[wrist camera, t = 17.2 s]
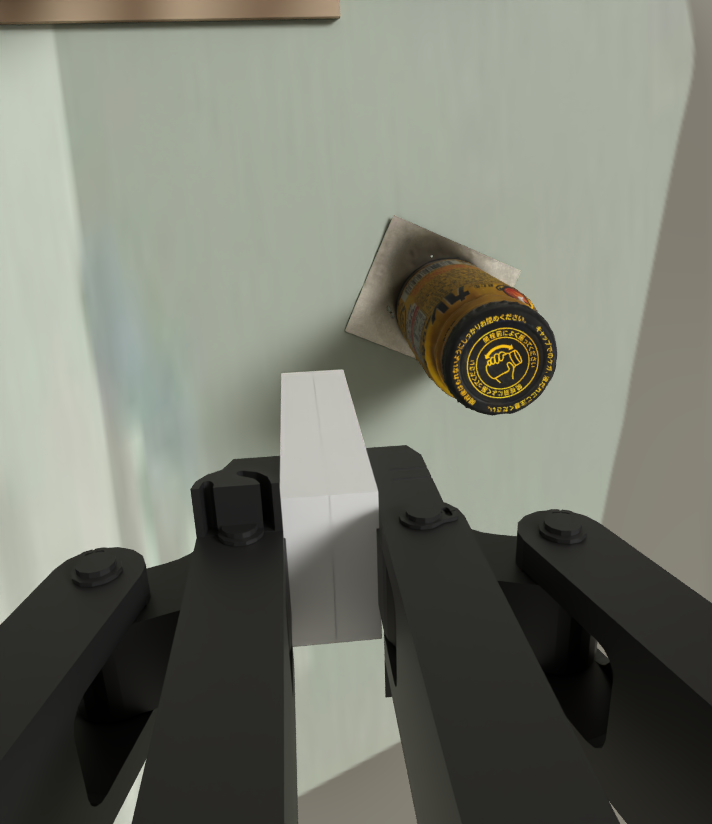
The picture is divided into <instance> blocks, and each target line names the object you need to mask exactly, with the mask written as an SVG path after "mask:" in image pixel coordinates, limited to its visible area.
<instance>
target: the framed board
mask: <svg viewBox="0 0 712 824" xmlns="http://www.w3.org/2000/svg"><path fill="white" fill-rule="evenodd" d="M338 18H340V0H0V25H6V24H61V23H117V22H172V21H227V20H283V19H338Z"/></svg>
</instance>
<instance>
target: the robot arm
mask: <svg viewBox="0 0 712 824" xmlns="http://www.w3.org/2000/svg"><path fill="white" fill-rule="evenodd" d="M190 490H191V497H192V505H193V512H194V520H195V528H196V535H197V539H196V543H195V548H194V551H193V552H192V553H191V554H189V555H187V556H184V557H182V558H180V559H178V560H175V561H172V562H169V563H166V564H162V565H158V566H155V567H151V568H147V569H146V564H145V561H144V558H143V556H142V555H141V554H139V553H137V552H136V551H134V550H131V549H126V548H120V547H115V548H97V549H95V550H89V551H86V552H83V553H81V554H80V555H77V556H75V557H73V558H71V559H68V560H66V561H65V562H64V563H62V564H61V565H60V566H59V567H57V568H56V569H55V570H53V571H52V573H51V574H50V575H49V576H48V577H47V578H46V579H45V580H44V581H43V582H42V583H41V584H40V585H39V586H38V587H37V588H36V589H35V590H34V591H33V592H32V593H31V594H30V595H29V596H28V597H27V598H26V599H25V600H24V601H23V602H22V603H21V604H20V605H19V606H18V607H17V608H16V609H15V610H14V611H13V612H12V614H11V615H10V616H9V617H8V618H7V619H6V620H5V621H4V622H3V623H2V624H1V625H0V824H113V822H114V820H115V818H116V817H117V815H118V813H119V811H120V809H121V807H122V805H123V803H124V801H125V799H126V797H127V795H128V793H129V791H130V789H131V787H132V786H133V784H134V782H135V780H136V778H137V776H138V774H139V772H140V770H141V768H142V766H143V764H144V762H145V760H146V763H145V767H144V772H143V776H142V781H141V785H140V789H139V794H138V798H137V803H136V807H135V811H134V816H133V820H132V824H298V805H297V804H298V800H297V759H296V718H295V677H294V658H293V647H297V646H307V645H318V644H329V643H340V642H350V641H361V640H372V639H382V625H381V619H382V624H383V629H384V649H385V694H386V697H392V698H393V703H394V708H395V713H396V718H397V723H398V728H399V733H400V738H401V743H402V748H403V753H404V758H405V763H406V768H407V774H408V778H409V784H410V788H411V793H412V798H413V804H414V808H415V814H416V819H417V824H620V822H619V821H618V819H617V817H616V815H615V813H614V811H613V809H612V807H611V805H610V803H611V804H612V805H613V807H614V808H615V809H616V810H617V812H618V813H619V814H620V815H621V817H622V818H623V819H624V820H625V822H626V823H627V824H712V603H711V602H709V601H708V600H706V599H705V598H703V597H702V596H701V595H699V594H698V593H697V592H695V591H694V590H692V589H691V588H690V587H688V586H687V585H685V584H684V583H683V582H681V581H680V580H678V579H677V578H676V577H674V576H673V575H671V574H670V573H669V572H667V571H666V570H664V569H663V568H662V567H660V566H659V565H657V564H656V563H655V562H653V561H652V560H650V559H649V558H647V557H646V556H645V555H643V554H642V553H641V552H639V551H637V550H636V549H635V548H634V547H632V546H631V545H629V544H628V543H627V542H625V541H624V540H622V539H621V538H620V537H618V536H617V535H615V534H614V533H613V532H611V531H610V530H608V529H607V528H606V527H604V526H603V525H601V524H600V523H598V522H597V521H595V520H593V519H591V518H589V517H587V516H584V515H581V514H577V513H573V512H572V511H568V510H561V511H559V509H551V510H547V511H537V512H534V513H532V514H529V515H526V516H524V517H523V518H522V519H521V520H520V521H519V522H518V530H517V536H507V535H497V534H490V533H483V532H479V531H476V530H472V529H471V528H470V526H469V524H468V522H467V520H466V518H465V516H464V515H463V514H462V513H461V512H460V511H459V510H458V508H455V507H453V506H451V505H449V504H447V503H444V502H443V500H442V498H441V496H440V494H439V492H438V490H437V487H436V485H435V483H434V481H433V479H432V478H431V475H430V473H429V470H428V469H427V466H426V464H425V462H424V460H423V458H422V456H421V454H419V453H418V452H416V451H415V450H413V449H411V448H410V447H408V446H407V445H403V446H388V447H374V448H366V447H365V444H364V440H363V437H362V433H361V430H360V426H359V423H358V419H357V416H356V412H355V409H354V405H353V402H352V398H351V395H350V391H349V388H348V384H347V381H346V377H345V374H344V370H343V369H342V370H325V371H309V372H292V373H281V436H280V456H273V457H258V458H244V459H233V460H232V461H231V462H230V463H229V464H228V465H227V466H226V467H225V468H224V469H223V470H220V471H217V472H214V473H211V474H208V475H206V476H204V477H203V478H201V479H199V480H198V481H196V482H195V484H194V485H193V486H192V488H191V489H190ZM597 642H599V644H600V645H601V646H602V647H603V649H604V650H605V652H606V654H607V656H608V658H607V657H606V656H605V655H604V654H603V653H602V652H601V651H600V650H599V649H597ZM146 758H147V759H146ZM608 800H609V801H610V803H609V801H608Z"/></svg>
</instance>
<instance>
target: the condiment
mask: <svg viewBox="0 0 712 824" xmlns="http://www.w3.org/2000/svg"><path fill="white" fill-rule="evenodd" d="M431 255H433V257H432V258H431ZM520 273H521V271H520V270H518V269H516V268H514V267H511V266H509V265H507V264H504V263H502V262H500V261H498V260H495V259H493V258H491V257H488V256H486V255H484V254H482V253H479V252H477V251H475V250H472V249H470V248H468V247H466V246H463V245H461V244H459V243H457V242H454V241H452V240H450V239H447V238H445V237H443V236H440V235H438V234H436V233H434V232H431V231H429V230H427V229H425V228H422V227H420V226H418V225H415V224H413V223H411V222H408V221H406V220H404V219H402V218H399V217H397V216H395V215H394V216H393V218H392V220H391V223H390V225H389V228H388V230H387V231H386V234H385V236H384V239H383V241H382V243H381V246H380V248H379V250H378V253H377V255H376V257H375V260H374V262H373V265H372V267H371V269H370V272H369V274H368V276H367V279H366V281H365V284H364V285H363V288H362V291H361V293H360V296H359V298H358V301H357V303H356V305H355V307H354V310H353V313H352V315H351V317H350V320H349V322H348V325H347V327H346V329H345V331H346V332H349V333H351V334H354V335H356V336H359V337H361V338H364V339H367V340H369V341H372V342H374V343H377V344H380V345H382V346H385V347H387V348H390V349H392V350H395V351H398V352H400V353H403V354H406V355H408V356H411V357H414V358H416V360H417V361H419V363H420V364H421V365H422V367H423V368H424V370H425V372H426V373H427V375H428V377H429V378H430V379H431V380H433V381H434V382H435V384H436V385H437V386H438V387H439V388H441V389H442V391H444V392H445V393H446V394H448V395H449V396H451V397H453V398H455V399H457V401H458V402H460V403H461V404H463V405H464V406H465V407H466V408H470V409H471V410H475V411H477V412H479V413H483V414H487V415H498V414H512V413H515V412H517V411H519V410H521V409H523V408H525V407H527V406H528V405H529V404H531V403H532V402H533V401H535V400H536V399H537V398H538V397H539V396H540V395H541V394H542V392H543V391H544V390H545V388H546V386H547V385H548V383H549V381H550V380H551V379H552V377H553V374H554V372H555V368H556V360H557V347H556V341H555V338H554V334H553V331H552V330H551V328H550V326H549V324H548V323H547V321H546V320H545V319H544V318H543V317H542V316H541V315H540V314H539V313H538V312H537V310H536V308H535V307H534V305H533V304H532V303H531V301H530V299H528V298H527V297H526V296H525V295H524V294H522V293H520V292H519V291H518V290H517V289H515V288H513V287H514V285H515V283H516V281H517V279H518V277H519V275H520ZM388 306H389V307H390V309H391V312H389V311H388V310H387V307H388ZM391 313H393V314H394V317H393V318H392V317H391Z"/></svg>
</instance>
